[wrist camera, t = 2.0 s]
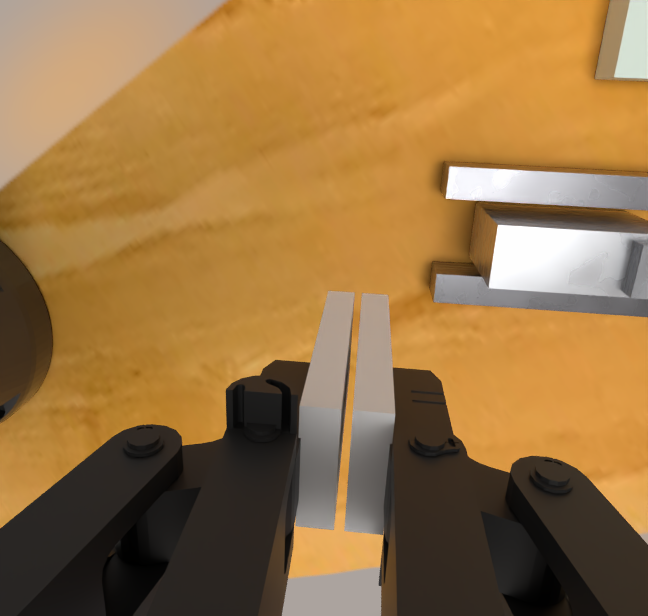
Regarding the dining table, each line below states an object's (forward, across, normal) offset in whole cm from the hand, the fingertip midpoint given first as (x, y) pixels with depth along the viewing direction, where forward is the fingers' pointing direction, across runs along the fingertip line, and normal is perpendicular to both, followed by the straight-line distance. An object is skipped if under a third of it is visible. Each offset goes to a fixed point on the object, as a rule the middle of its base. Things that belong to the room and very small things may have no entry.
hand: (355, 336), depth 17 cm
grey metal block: (+16, +10, 0) cm, 19 cm away
